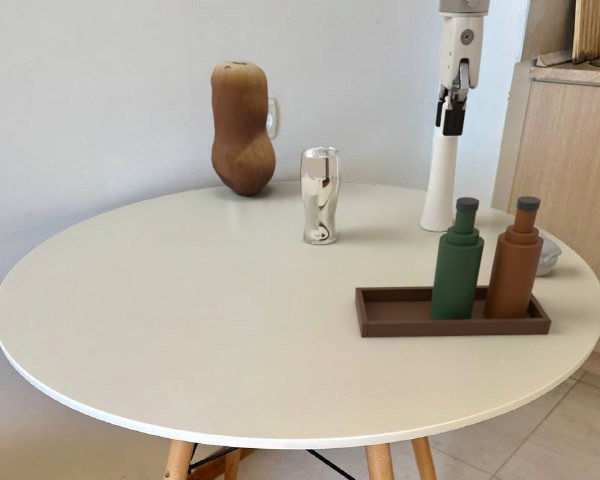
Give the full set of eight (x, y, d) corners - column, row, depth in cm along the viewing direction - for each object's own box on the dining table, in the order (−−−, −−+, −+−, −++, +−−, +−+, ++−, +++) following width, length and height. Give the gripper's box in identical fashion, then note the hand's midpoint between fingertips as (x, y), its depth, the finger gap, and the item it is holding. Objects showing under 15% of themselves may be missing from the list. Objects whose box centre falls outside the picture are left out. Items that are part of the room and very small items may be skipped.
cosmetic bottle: (425, 218, 114) (439, 92, 101) (456, 223, 112) (474, 94, 99) (415, 229, 110) (429, 98, 97) (447, 234, 108) (466, 101, 95)
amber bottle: (518, 305, 84) (544, 191, 75) (530, 324, 80) (560, 206, 70) (479, 305, 84) (500, 192, 75) (489, 325, 80) (513, 207, 70)
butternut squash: (289, 190, 130) (285, 59, 115) (247, 206, 121) (238, 68, 106) (243, 178, 137) (234, 54, 122) (201, 193, 129) (185, 62, 114)
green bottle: (465, 306, 84) (485, 192, 75) (475, 325, 80) (497, 207, 70) (426, 306, 84) (440, 193, 75) (433, 326, 80) (450, 208, 70)
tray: (522, 301, 87) (526, 284, 85) (546, 339, 78) (552, 320, 76) (354, 304, 87) (355, 287, 85) (361, 342, 78) (362, 323, 77)
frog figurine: (508, 265, 97) (517, 224, 92) (554, 270, 95) (565, 227, 91) (508, 281, 92) (518, 238, 88) (556, 286, 90) (568, 242, 86)
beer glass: (322, 248, 103) (323, 159, 94) (293, 239, 107) (291, 152, 98) (347, 237, 107) (350, 150, 98) (318, 228, 111) (318, 143, 102)
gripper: (504, 7, 83) (482, 143, 94) (475, 0, 97) (458, 119, 108) (451, 8, 83) (435, 144, 94) (429, 1, 97) (417, 120, 108)
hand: (448, 129), depth 101 cm, fingers open, 5 cm apart
